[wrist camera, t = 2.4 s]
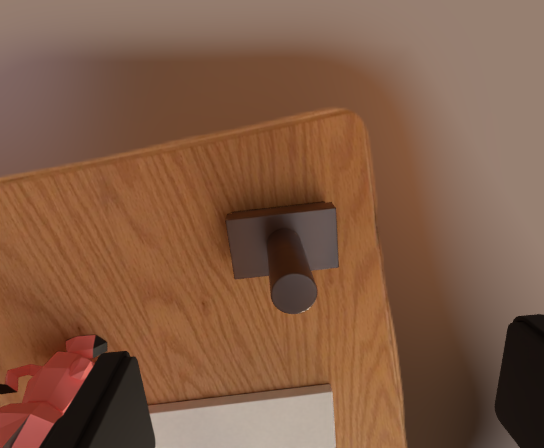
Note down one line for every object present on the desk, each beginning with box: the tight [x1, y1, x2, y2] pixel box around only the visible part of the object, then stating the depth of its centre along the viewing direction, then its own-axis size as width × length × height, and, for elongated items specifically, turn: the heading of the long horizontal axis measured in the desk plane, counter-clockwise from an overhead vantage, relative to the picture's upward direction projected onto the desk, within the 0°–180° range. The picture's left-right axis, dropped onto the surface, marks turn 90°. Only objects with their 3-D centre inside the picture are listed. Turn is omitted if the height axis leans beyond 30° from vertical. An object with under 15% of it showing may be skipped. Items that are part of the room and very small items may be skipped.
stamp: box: [226, 202, 339, 314], centre depth 23 cm, size 8×4×10 cm, turn 96°
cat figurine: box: [0, 335, 107, 448], centre depth 24 cm, size 7×7×12 cm
